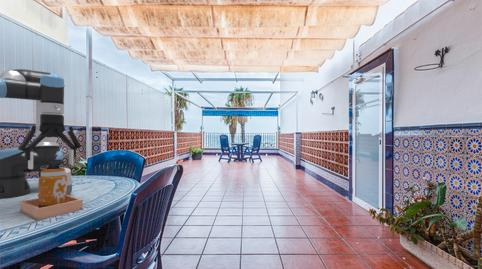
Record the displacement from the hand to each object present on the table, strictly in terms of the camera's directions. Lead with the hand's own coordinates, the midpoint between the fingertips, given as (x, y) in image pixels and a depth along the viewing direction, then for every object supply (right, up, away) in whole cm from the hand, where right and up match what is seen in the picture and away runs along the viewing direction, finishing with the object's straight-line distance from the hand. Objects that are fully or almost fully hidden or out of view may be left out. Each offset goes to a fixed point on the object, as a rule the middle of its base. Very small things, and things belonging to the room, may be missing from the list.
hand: (52, 166), depth 96 cm
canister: (0, -17, 0) cm, 17 cm away
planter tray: (0, -18, 0) cm, 18 cm away
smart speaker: (-12, -18, +20) cm, 29 cm away
